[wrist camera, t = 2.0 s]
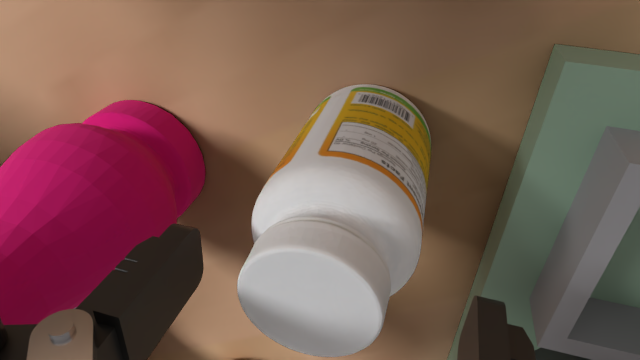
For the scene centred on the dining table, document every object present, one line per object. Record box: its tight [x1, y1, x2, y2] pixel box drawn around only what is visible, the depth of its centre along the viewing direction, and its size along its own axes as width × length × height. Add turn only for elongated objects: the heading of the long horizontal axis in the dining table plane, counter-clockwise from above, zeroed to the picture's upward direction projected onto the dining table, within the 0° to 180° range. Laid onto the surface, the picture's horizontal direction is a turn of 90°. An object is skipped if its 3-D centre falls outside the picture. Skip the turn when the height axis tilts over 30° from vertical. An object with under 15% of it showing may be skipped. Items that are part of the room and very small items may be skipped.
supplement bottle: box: [237, 84, 431, 357], centre depth 16 cm, size 5×5×10 cm
